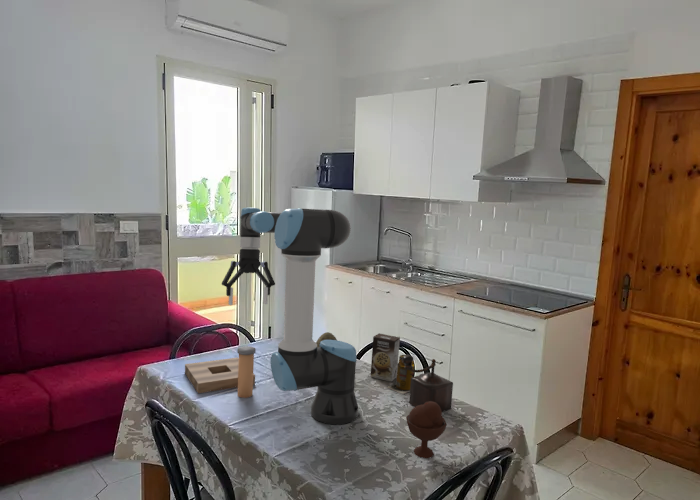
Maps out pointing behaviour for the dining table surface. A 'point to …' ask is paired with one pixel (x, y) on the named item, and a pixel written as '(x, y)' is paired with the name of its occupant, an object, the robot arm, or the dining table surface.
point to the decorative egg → (325, 338)
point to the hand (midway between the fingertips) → (248, 304)
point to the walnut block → (214, 375)
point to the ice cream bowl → (426, 426)
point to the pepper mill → (428, 386)
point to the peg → (245, 371)
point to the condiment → (402, 378)
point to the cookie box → (385, 357)
